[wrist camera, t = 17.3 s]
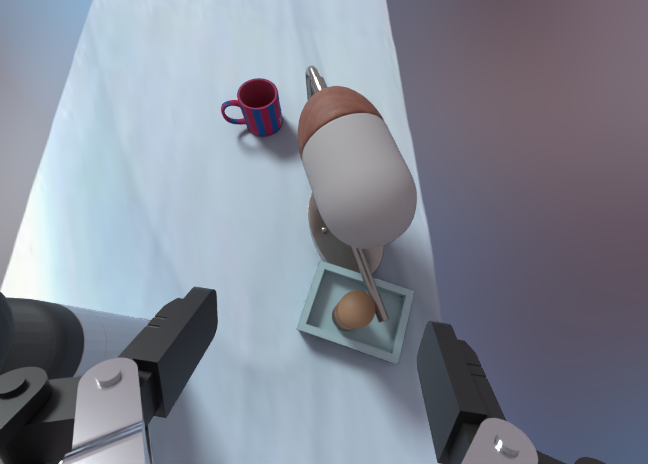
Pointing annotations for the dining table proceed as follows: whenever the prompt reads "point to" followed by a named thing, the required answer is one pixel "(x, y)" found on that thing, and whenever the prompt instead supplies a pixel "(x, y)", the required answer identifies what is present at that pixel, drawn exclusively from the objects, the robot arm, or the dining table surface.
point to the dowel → (353, 311)
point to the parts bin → (369, 339)
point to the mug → (257, 107)
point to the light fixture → (353, 180)
